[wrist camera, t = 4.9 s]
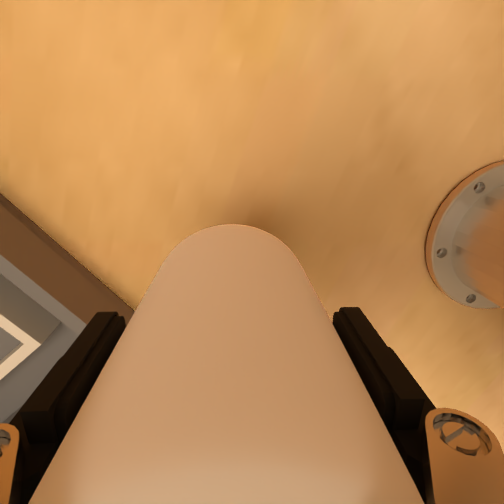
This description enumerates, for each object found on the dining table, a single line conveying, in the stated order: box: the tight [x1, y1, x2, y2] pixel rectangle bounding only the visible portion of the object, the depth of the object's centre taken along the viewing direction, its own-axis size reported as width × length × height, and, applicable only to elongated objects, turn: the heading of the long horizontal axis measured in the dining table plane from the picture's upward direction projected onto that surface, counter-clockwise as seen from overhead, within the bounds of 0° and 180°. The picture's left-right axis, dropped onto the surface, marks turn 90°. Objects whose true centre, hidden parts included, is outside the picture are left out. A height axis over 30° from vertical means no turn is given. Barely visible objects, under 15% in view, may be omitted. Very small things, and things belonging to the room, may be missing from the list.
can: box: [28, 224, 424, 504], centre depth 9 cm, size 6×6×12 cm
